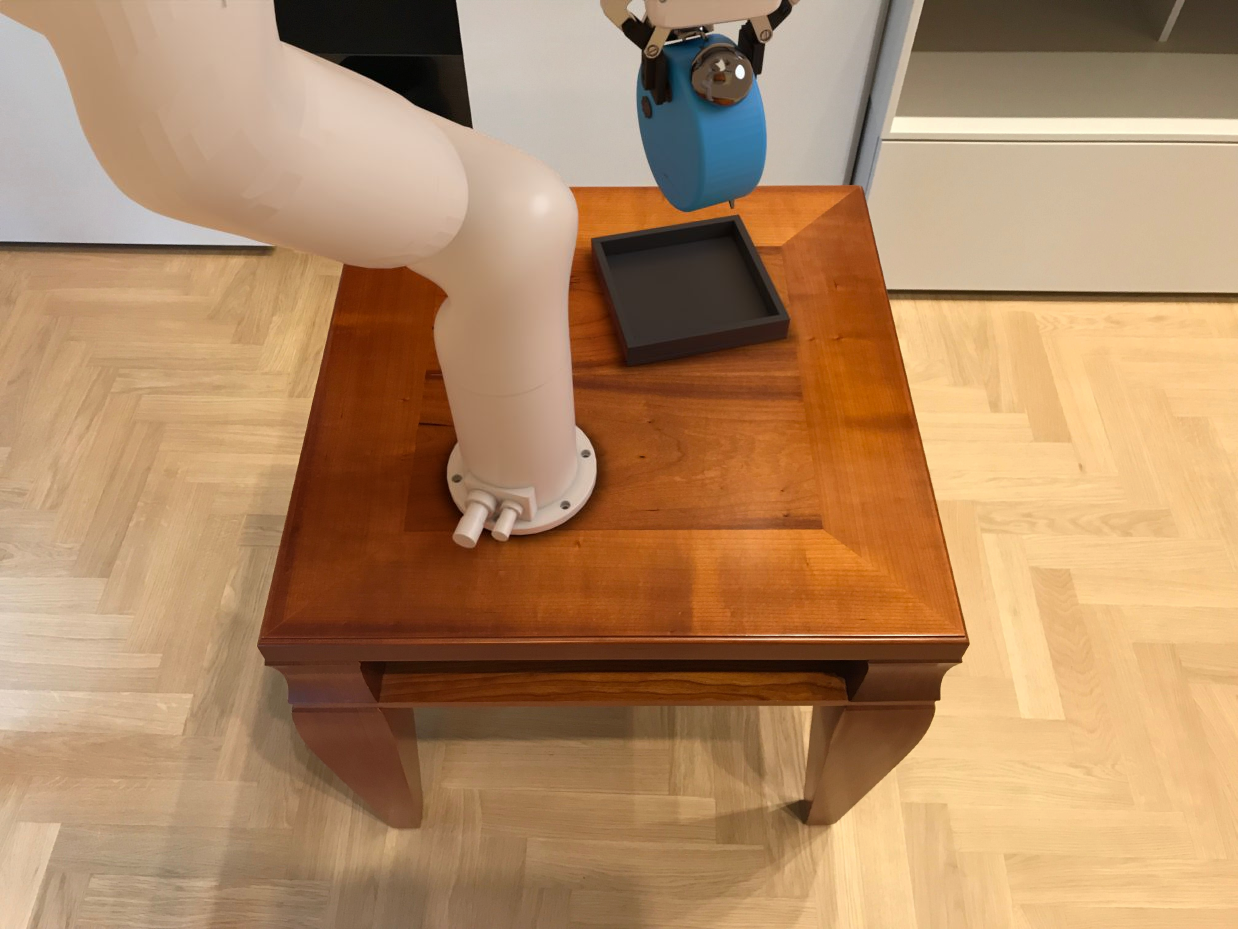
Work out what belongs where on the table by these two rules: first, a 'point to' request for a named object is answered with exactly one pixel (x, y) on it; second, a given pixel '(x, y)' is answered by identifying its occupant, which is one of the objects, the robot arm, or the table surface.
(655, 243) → the tray
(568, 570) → the table surface
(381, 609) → the table surface
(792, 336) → the table surface
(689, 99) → the alarm clock
